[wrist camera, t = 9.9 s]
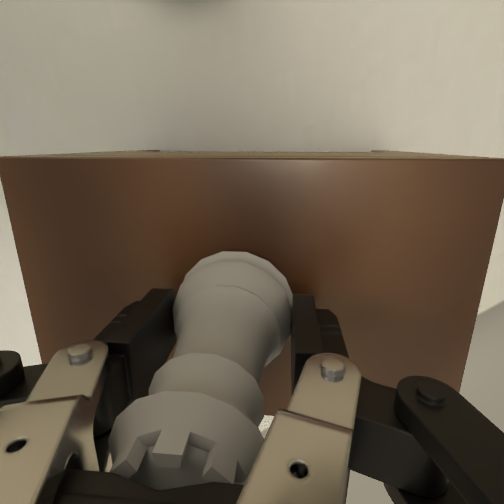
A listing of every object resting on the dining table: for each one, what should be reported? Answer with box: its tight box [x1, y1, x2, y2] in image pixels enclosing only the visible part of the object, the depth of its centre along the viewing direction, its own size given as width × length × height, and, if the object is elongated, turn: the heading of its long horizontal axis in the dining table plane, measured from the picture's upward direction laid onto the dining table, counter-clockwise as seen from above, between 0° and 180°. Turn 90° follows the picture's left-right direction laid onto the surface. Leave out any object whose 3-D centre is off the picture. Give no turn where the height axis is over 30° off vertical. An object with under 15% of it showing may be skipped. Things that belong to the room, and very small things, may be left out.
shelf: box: [0, 150, 504, 416], centre depth 20 cm, size 18×11×14 cm, turn 90°
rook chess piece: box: [108, 251, 293, 490], centre depth 9 cm, size 4×4×8 cm
